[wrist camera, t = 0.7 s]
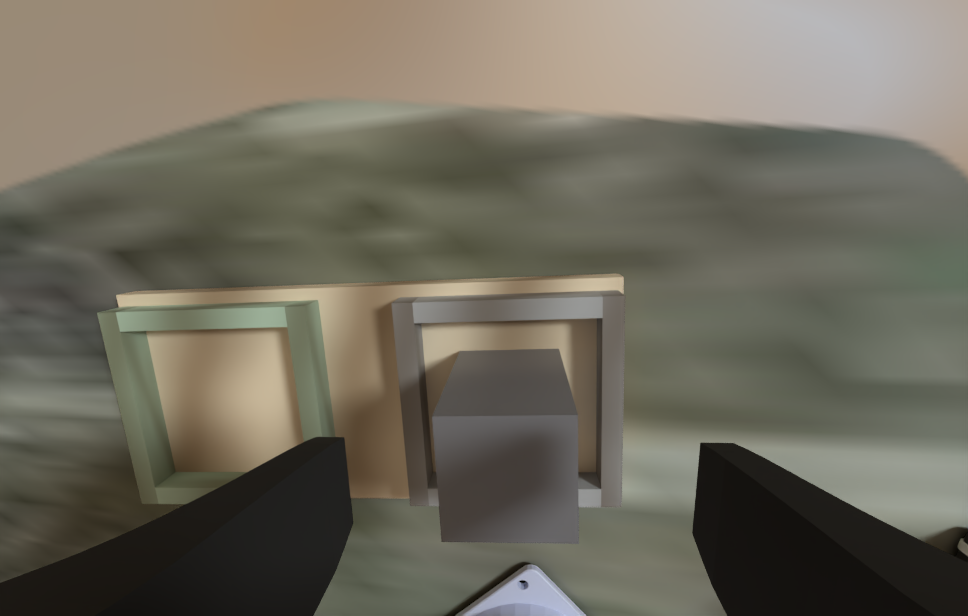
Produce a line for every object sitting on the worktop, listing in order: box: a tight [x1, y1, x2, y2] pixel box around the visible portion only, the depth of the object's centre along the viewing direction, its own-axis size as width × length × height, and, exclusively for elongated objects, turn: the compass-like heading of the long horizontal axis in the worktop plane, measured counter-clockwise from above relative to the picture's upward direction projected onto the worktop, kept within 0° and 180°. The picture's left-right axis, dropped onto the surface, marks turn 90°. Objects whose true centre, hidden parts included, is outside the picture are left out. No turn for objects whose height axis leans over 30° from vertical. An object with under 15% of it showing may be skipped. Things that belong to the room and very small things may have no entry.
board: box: [97, 274, 625, 507], centre depth 19 cm, size 21×10×2 cm, turn 93°
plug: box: [432, 349, 579, 544], centre depth 16 cm, size 4×4×6 cm
